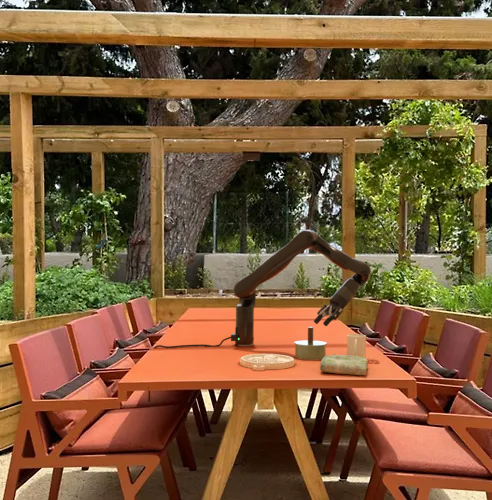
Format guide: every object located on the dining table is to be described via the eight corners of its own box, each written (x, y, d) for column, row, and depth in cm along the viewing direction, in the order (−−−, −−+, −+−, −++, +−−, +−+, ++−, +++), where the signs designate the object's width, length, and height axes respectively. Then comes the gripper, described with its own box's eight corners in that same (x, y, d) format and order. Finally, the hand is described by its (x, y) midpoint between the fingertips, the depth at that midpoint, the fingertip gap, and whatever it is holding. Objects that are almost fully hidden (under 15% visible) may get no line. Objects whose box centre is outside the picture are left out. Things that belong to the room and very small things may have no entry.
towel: (368, 366, 254) (368, 354, 254) (366, 377, 233) (366, 363, 233) (324, 364, 258) (325, 352, 258) (319, 374, 237) (319, 361, 237)
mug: (363, 366, 254) (363, 338, 254) (343, 365, 257) (343, 337, 257) (367, 361, 265) (367, 334, 265) (348, 360, 268) (348, 333, 268)
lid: (294, 347, 265) (295, 329, 265) (293, 342, 280) (293, 325, 280) (328, 348, 265) (328, 329, 265) (325, 342, 280) (325, 325, 280)
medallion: (299, 360, 266) (299, 355, 266) (285, 372, 240) (285, 366, 240) (248, 357, 272) (249, 352, 272) (229, 368, 246) (229, 362, 246)
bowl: (295, 360, 266) (296, 346, 266) (294, 355, 280) (294, 341, 280) (326, 361, 266) (326, 346, 266) (323, 355, 279) (323, 341, 279)
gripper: (328, 291, 285) (307, 316, 280) (345, 293, 271) (322, 320, 267) (338, 302, 287) (317, 327, 282) (354, 305, 274) (332, 331, 269)
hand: (319, 323), depth 274 cm, fingers open, 8 cm apart
